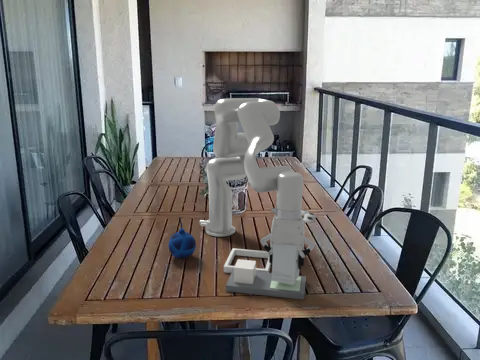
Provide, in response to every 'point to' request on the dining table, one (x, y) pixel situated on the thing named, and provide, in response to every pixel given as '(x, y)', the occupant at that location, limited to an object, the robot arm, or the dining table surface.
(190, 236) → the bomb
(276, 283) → the grey base with cube
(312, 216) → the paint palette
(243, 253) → the white square frame
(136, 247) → the dining table surface
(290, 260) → the supplement box
